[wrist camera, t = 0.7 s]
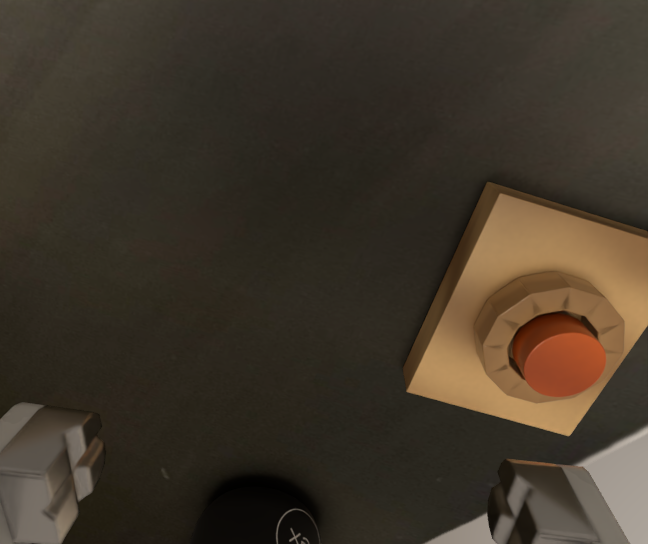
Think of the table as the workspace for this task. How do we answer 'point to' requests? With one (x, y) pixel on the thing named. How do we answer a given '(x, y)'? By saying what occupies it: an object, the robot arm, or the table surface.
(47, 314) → the table surface
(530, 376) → the red button
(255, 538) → the mug
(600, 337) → the button block
